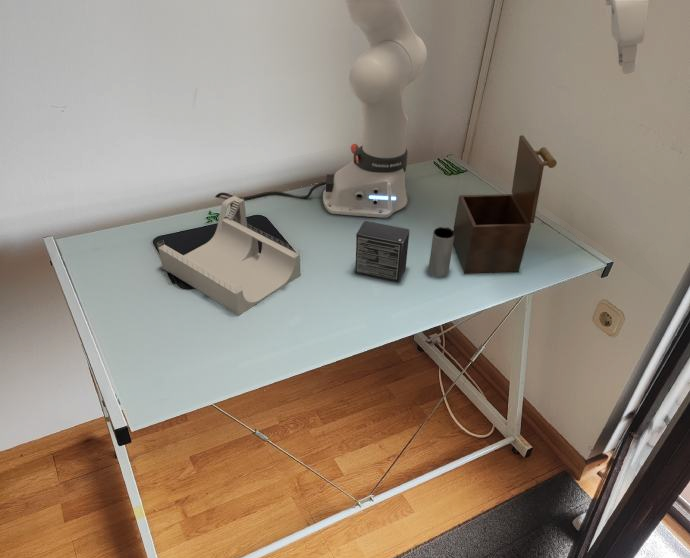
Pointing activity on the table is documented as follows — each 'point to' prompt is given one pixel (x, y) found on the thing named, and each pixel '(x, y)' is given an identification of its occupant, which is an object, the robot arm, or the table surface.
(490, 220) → the storage box
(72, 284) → the table surface
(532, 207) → the box lid
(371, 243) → the small box
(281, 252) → the skate ramp
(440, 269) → the grey hollow cylinder
